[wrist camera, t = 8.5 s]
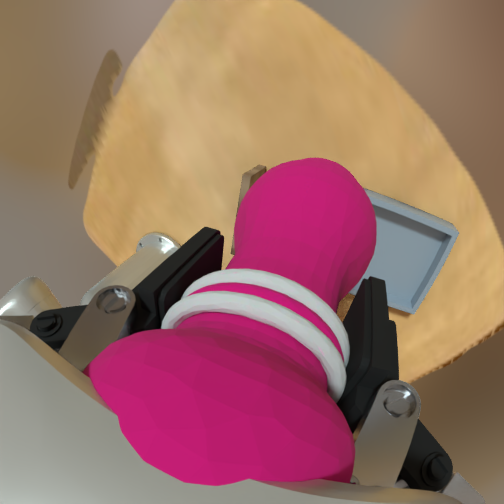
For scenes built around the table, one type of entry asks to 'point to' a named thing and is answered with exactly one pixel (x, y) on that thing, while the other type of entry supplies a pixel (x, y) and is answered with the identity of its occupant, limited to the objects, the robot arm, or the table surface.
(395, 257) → the slate tray
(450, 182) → the table surface
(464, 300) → the table surface
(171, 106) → the table surface
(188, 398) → the pepper mill
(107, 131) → the table surface
